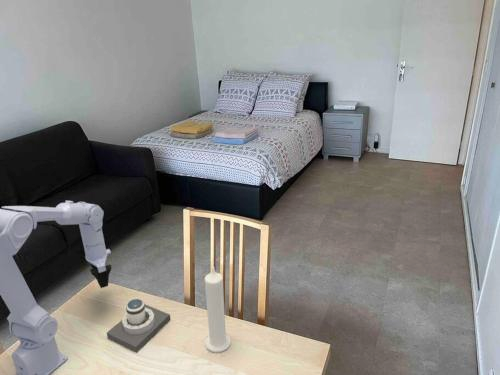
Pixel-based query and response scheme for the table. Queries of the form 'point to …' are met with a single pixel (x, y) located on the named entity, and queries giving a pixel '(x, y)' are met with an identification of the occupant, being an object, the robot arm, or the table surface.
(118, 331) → the camera body
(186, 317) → the table surface
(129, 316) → the lens
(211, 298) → the candle
